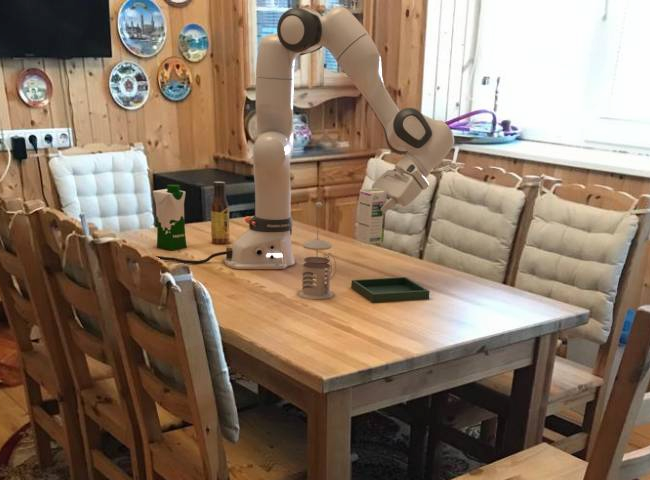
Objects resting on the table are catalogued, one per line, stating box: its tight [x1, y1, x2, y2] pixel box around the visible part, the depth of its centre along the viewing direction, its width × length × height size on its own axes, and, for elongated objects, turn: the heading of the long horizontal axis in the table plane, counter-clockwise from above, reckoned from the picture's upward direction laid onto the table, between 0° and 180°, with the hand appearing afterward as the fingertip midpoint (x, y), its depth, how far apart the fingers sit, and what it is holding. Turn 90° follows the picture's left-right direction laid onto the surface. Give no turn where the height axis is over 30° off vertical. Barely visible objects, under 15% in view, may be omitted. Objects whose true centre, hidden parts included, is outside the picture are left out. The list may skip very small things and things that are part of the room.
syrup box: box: [356, 188, 388, 245], centre depth 237 cm, size 6×6×14 cm
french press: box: [298, 201, 337, 300], centre depth 225 cm, size 10×12×25 cm
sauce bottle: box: [210, 180, 231, 245], centre depth 279 cm, size 7×6×20 cm
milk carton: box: [152, 183, 188, 251], centre depth 270 cm, size 9×9×20 cm
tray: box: [350, 276, 431, 304], centre depth 235 cm, size 18×16×2 cm
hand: (376, 209), depth 236 cm, fingers closed on syrup box, 6 cm apart
